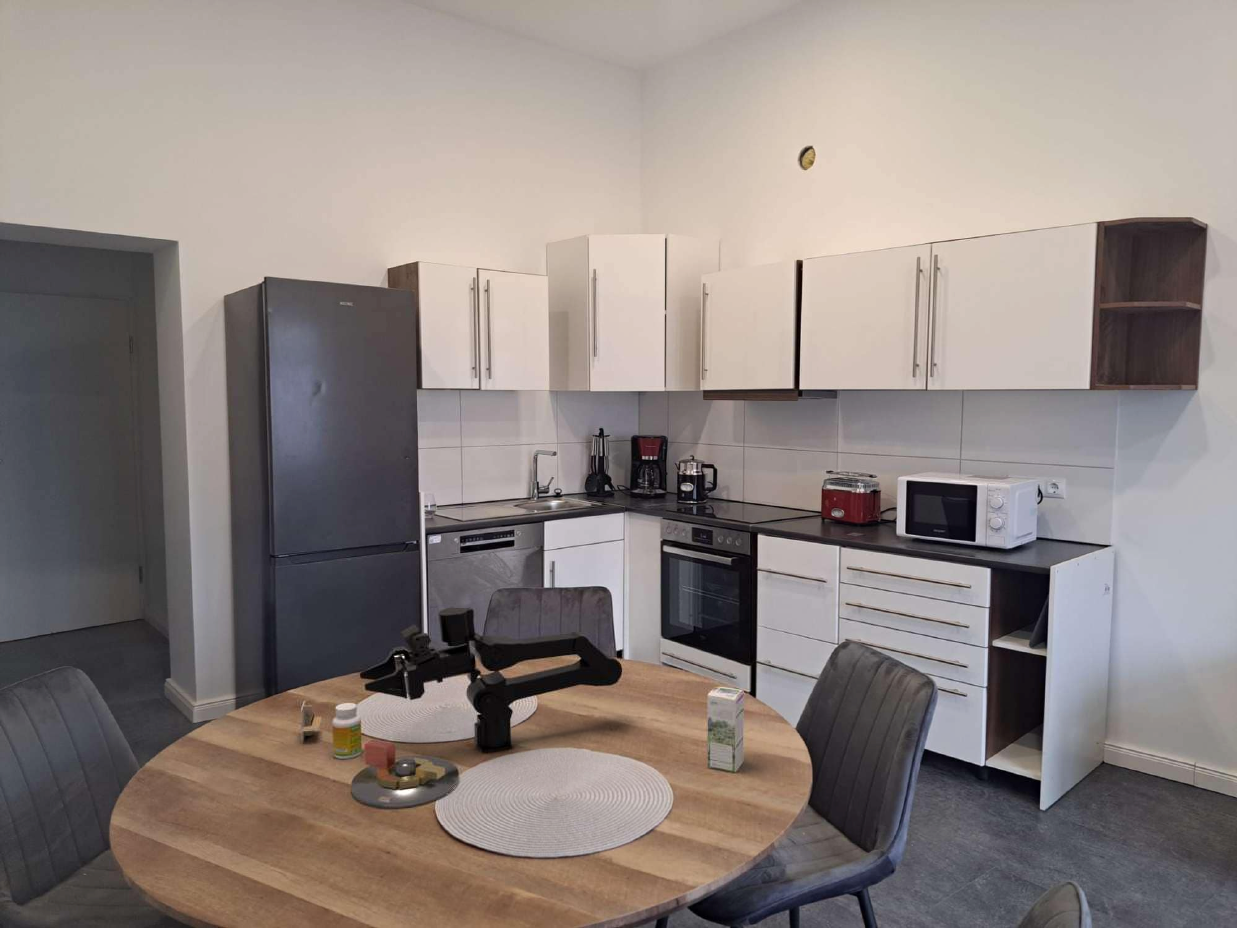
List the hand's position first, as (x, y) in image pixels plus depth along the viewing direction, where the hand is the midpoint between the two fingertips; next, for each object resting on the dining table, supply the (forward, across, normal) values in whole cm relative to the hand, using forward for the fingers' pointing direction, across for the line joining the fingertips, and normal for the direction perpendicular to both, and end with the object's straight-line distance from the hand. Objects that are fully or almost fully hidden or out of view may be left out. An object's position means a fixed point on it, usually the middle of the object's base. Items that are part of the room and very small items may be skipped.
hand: (362, 681), depth 161 cm
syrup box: (-62, +25, +24) cm, 71 cm away
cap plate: (-4, +10, +18) cm, 21 cm away
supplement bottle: (+4, -9, +16) cm, 19 cm away
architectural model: (+11, -21, +15) cm, 28 cm away
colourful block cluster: (-5, +9, +16) cm, 19 cm away
